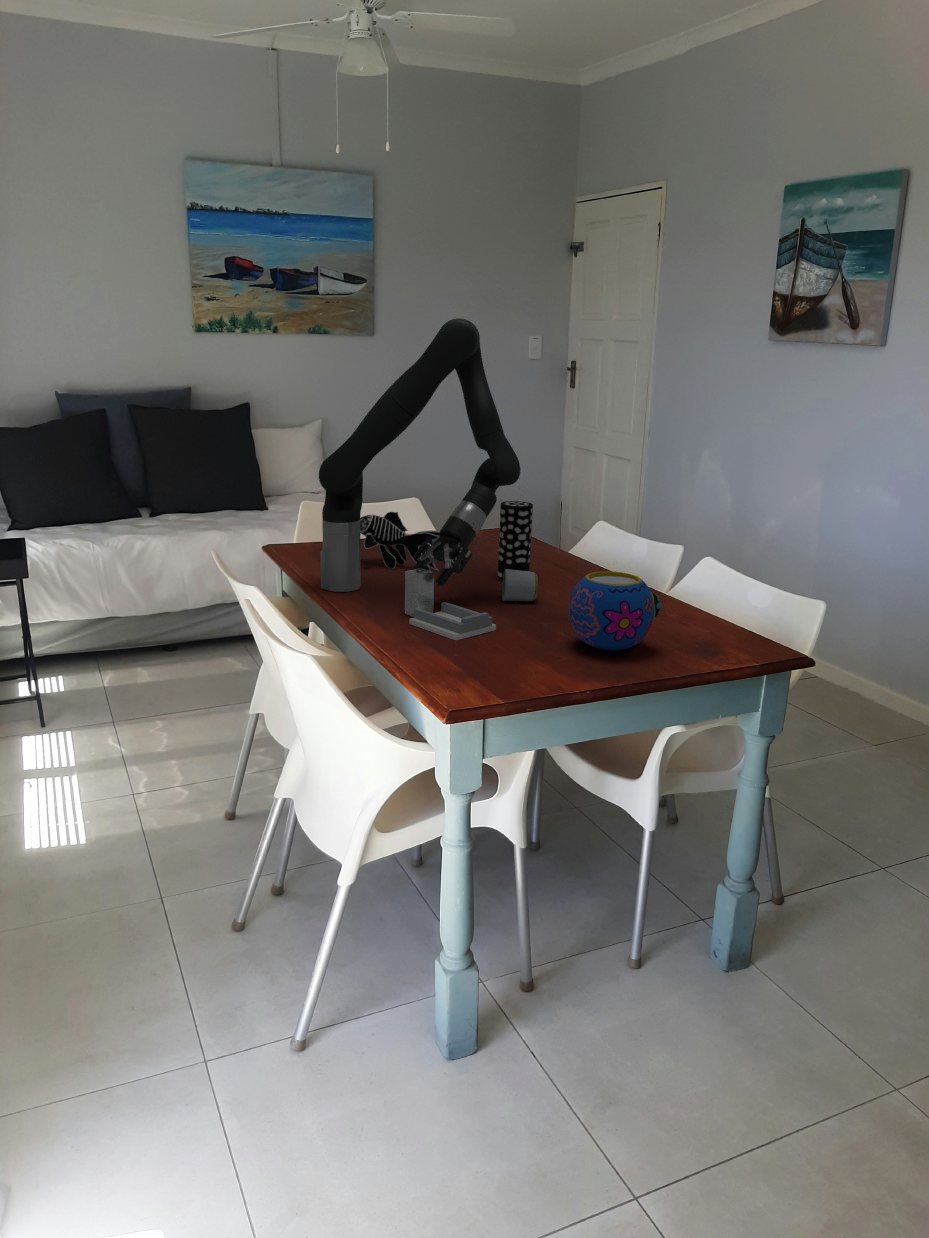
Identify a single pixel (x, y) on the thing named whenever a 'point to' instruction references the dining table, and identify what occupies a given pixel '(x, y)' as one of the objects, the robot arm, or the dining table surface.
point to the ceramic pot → (612, 610)
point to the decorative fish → (393, 538)
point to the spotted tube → (514, 536)
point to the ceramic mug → (519, 585)
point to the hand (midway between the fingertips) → (425, 580)
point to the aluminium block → (419, 590)
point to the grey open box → (453, 621)
